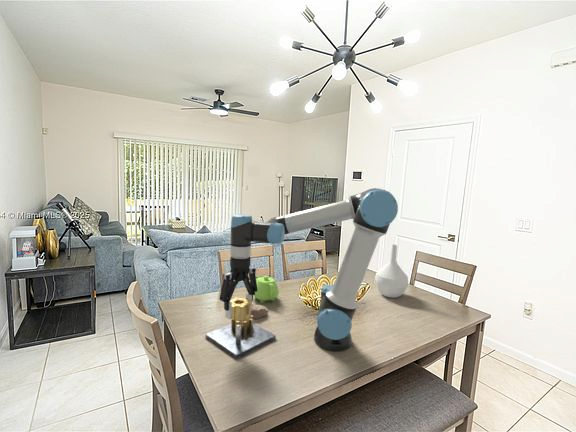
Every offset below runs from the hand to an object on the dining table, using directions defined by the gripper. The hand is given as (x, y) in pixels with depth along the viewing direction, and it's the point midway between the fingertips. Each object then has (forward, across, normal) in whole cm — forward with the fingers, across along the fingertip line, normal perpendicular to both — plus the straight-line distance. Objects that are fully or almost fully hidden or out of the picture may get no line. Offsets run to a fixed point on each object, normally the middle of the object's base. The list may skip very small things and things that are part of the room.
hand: (238, 313), depth 115 cm
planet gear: (0, 0, 0) cm, 0 cm away
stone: (+14, -23, -16) cm, 31 cm away
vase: (+13, -99, +17) cm, 101 cm away
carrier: (+13, -5, -4) cm, 15 cm away
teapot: (+14, -40, -27) cm, 50 cm away
